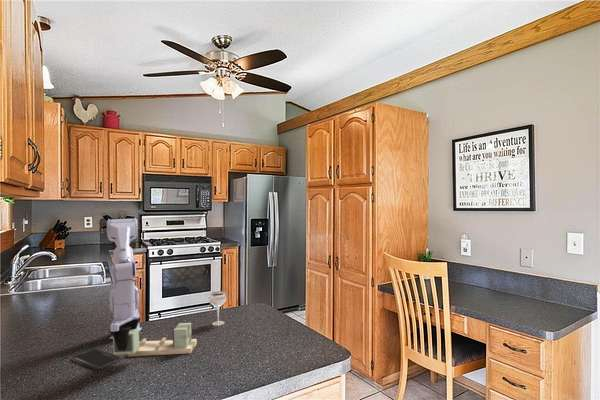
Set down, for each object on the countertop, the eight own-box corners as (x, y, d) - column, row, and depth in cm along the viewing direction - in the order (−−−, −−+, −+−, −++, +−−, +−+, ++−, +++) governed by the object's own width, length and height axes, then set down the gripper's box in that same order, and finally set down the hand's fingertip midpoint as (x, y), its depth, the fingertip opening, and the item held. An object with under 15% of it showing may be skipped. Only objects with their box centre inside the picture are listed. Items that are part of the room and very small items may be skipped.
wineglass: (214, 327, 135) (213, 296, 135) (206, 323, 140) (206, 293, 140) (230, 323, 139) (229, 293, 139) (222, 319, 144) (221, 290, 144)
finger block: (119, 348, 108) (119, 329, 108) (139, 348, 109) (138, 328, 108) (112, 355, 104) (111, 335, 104) (133, 354, 104) (132, 334, 104)
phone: (96, 368, 102) (70, 357, 110) (96, 372, 102) (71, 360, 110) (122, 357, 109) (96, 348, 117) (122, 361, 109) (96, 351, 117)
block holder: (137, 346, 119) (137, 324, 119) (196, 343, 120) (196, 321, 120) (127, 356, 111) (126, 333, 111) (190, 353, 112) (190, 330, 112)
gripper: (127, 308, 99) (129, 356, 99) (147, 294, 113) (148, 336, 113) (102, 309, 99) (103, 357, 99) (125, 295, 113) (126, 337, 113)
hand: (126, 346), depth 106 cm, fingers closed on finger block, 5 cm apart
